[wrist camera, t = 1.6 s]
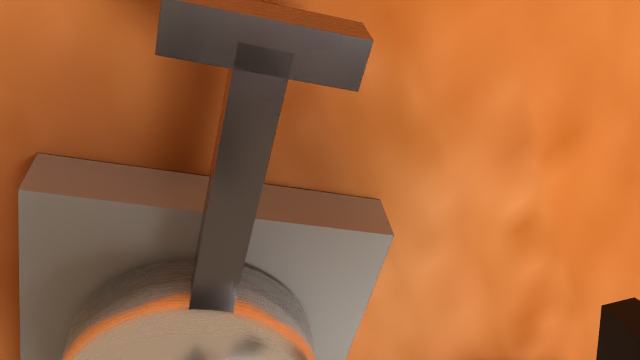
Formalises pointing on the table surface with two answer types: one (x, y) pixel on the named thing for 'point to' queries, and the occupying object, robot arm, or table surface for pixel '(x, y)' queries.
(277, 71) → the grey t-handle
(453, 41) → the table surface
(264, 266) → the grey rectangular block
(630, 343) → the robot arm
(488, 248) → the table surface
